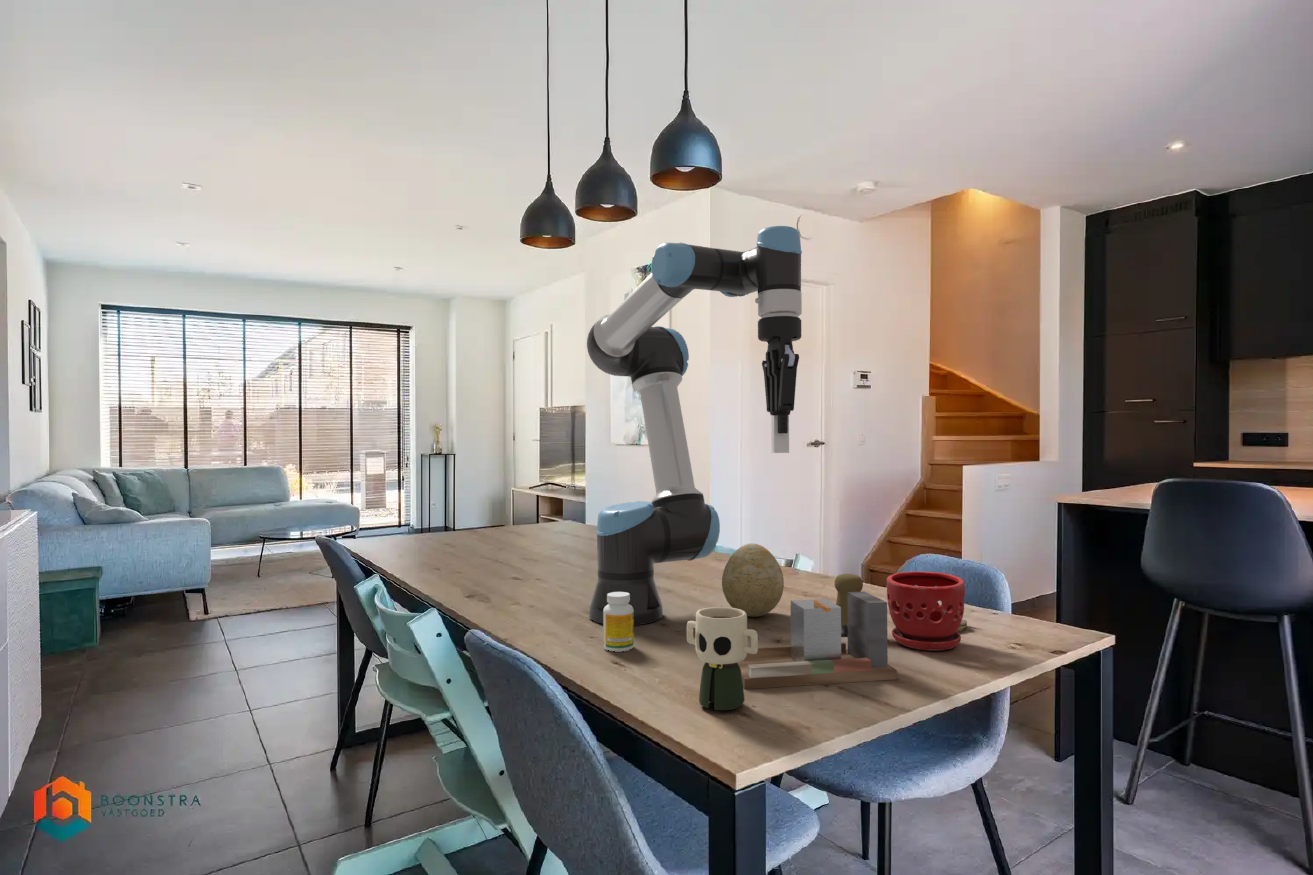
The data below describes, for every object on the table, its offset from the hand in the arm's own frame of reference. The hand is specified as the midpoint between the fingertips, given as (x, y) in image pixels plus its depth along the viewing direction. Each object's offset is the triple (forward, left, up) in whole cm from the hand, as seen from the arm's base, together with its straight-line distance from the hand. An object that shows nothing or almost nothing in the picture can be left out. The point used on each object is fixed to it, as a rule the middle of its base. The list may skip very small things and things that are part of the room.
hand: (780, 452), depth 130 cm
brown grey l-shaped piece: (+13, 0, -34) cm, 37 cm away
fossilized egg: (-24, +2, -35) cm, 42 cm away
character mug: (+24, -17, -35) cm, 46 cm away
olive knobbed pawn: (-8, +16, -35) cm, 39 cm away
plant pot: (+2, +26, -35) cm, 43 cm away
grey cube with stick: (+14, +2, -33) cm, 36 cm away
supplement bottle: (-6, -28, -35) cm, 45 cm away
